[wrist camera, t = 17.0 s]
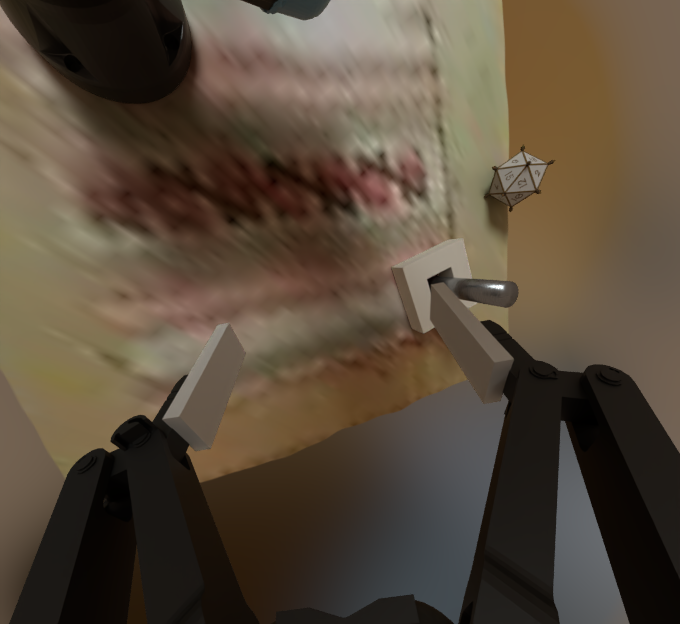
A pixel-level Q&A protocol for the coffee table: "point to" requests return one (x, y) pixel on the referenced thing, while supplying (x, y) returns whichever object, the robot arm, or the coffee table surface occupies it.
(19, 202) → the coffee table surface
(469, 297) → the pin
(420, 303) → the socket block
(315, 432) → the coffee table surface
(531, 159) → the game die
